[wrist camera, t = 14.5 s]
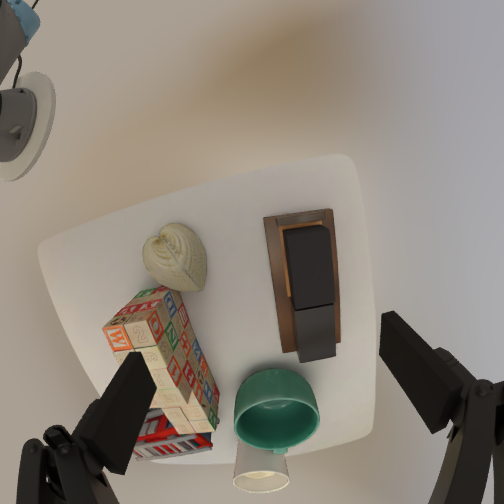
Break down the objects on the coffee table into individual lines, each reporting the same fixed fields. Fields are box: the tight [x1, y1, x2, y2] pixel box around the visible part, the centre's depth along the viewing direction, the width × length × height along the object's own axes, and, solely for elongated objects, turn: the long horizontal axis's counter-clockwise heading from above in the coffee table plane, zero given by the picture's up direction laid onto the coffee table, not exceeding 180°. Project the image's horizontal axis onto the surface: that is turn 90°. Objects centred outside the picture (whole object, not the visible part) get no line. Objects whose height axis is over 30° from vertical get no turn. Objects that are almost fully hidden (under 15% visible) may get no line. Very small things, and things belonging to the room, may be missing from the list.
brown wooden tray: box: [263, 209, 341, 363], centre depth 35 cm, size 20×9×6 cm, turn 9°
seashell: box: [142, 223, 207, 292], centre depth 34 cm, size 8×8×8 cm
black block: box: [282, 224, 335, 309], centre depth 33 cm, size 9×5×4 cm, turn 9°
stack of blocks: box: [102, 286, 220, 434], centre depth 34 cm, size 21×6×12 cm, turn 15°
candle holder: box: [233, 439, 290, 493], centre depth 40 cm, size 10×10×12 cm
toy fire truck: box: [132, 408, 220, 461], centre depth 39 cm, size 9×19×10 cm, turn 123°
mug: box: [234, 369, 320, 454], centre depth 38 cm, size 17×13×10 cm
